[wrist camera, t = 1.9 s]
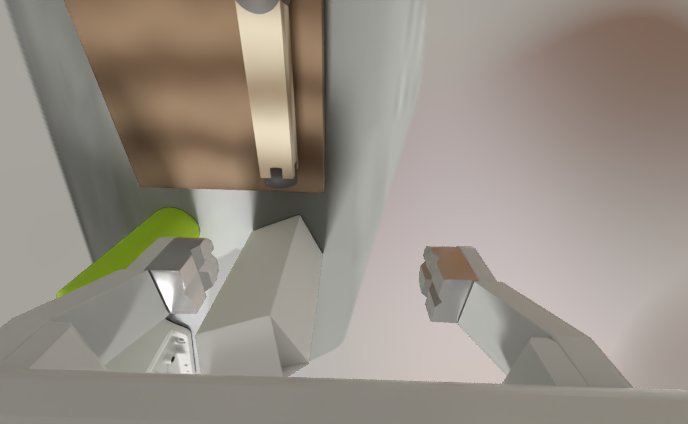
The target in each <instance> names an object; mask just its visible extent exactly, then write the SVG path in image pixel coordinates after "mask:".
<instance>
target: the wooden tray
mask: <svg viewBox="0 0 688 424" xmlns="http://www.w3.org/2000/svg"><path fill="white" fill-rule="evenodd" d="M64 1H65V4H66V6H67V9H68V11H69V14H70V16H71V19H72V21H73V24H74V26H75V28H76V31H77V33H78V36H79V38H80V41H81V43H82V46H83V48H84V51H85V53H86V55H87V58H88V60H89V63H90V65H91V68H92V70H93V73H94V75H95V78H96V80H97V82H98V85H99V87H100V90H101V92H102V95H103V97H104V100H105V102H106V105H107V107H108V109H109V112H110V114H111V117H112V119H113V122H114V124H115V127H116V129H117V132H118V134H119V136H120V139H121V141H122V144H123V146H124V149H125V151H126V154H127V156H128V158H129V161H130V163H131V166H132V168H133V171H134V173H135V176H136V178H137V181H138V183H139V185H140V187H166V188H196V189H226V190H256V191H286V192H316V193H324V187H325V87H324V0H291V1H290V4H289V7H288V8H289V24H290V40H291V56H292V72H293V88H294V104H295V119H296V135H297V151H298V169H297V176H298V182H297V184H296V185H294V186H292V187H289V188H283V189H276V188H270V187H268V186H266V185H265V181H264V178H261V176H260V169H259V163H258V156H257V149H256V142H255V135H254V128H253V121H252V114H251V107H250V100H249V93H248V86H247V79H246V73H245V66H244V59H243V52H242V45H241V38H240V31H239V24H238V17H237V10H236V3H235V0H64Z"/></svg>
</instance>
